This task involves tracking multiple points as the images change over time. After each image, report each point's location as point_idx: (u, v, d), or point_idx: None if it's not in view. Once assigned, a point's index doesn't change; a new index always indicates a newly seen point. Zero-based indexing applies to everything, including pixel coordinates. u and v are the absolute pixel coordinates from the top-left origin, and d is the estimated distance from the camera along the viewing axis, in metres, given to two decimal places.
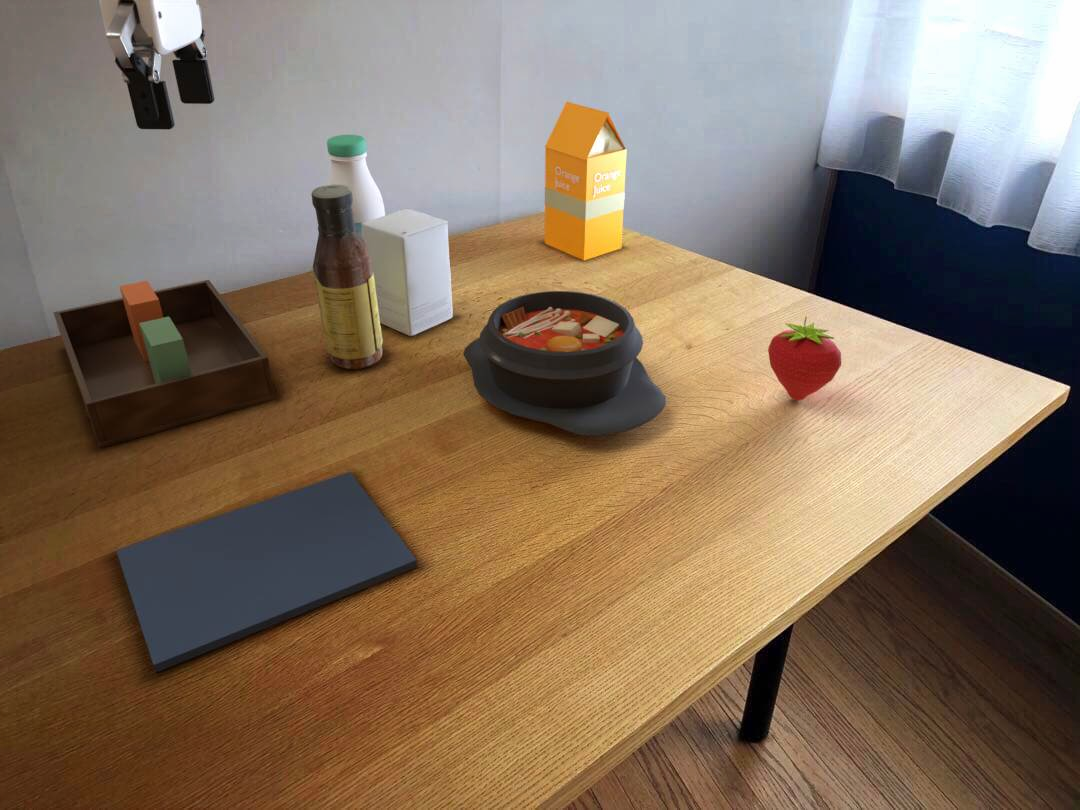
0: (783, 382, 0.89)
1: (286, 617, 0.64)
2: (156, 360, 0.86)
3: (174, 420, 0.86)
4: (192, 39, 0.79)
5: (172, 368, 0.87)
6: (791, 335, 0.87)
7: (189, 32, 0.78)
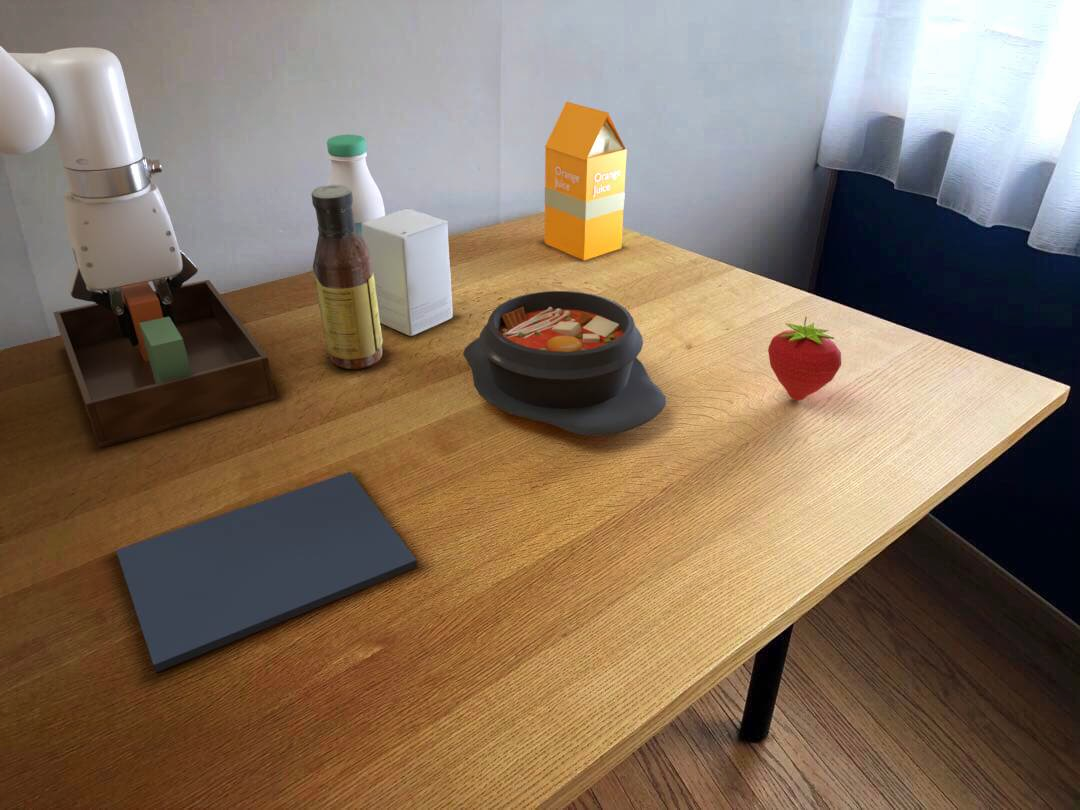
0: (783, 382, 0.89)
1: (286, 617, 0.64)
2: (156, 360, 0.86)
3: (174, 420, 0.86)
4: (154, 278, 0.94)
5: (172, 368, 0.87)
6: (791, 335, 0.87)
7: (147, 273, 0.93)
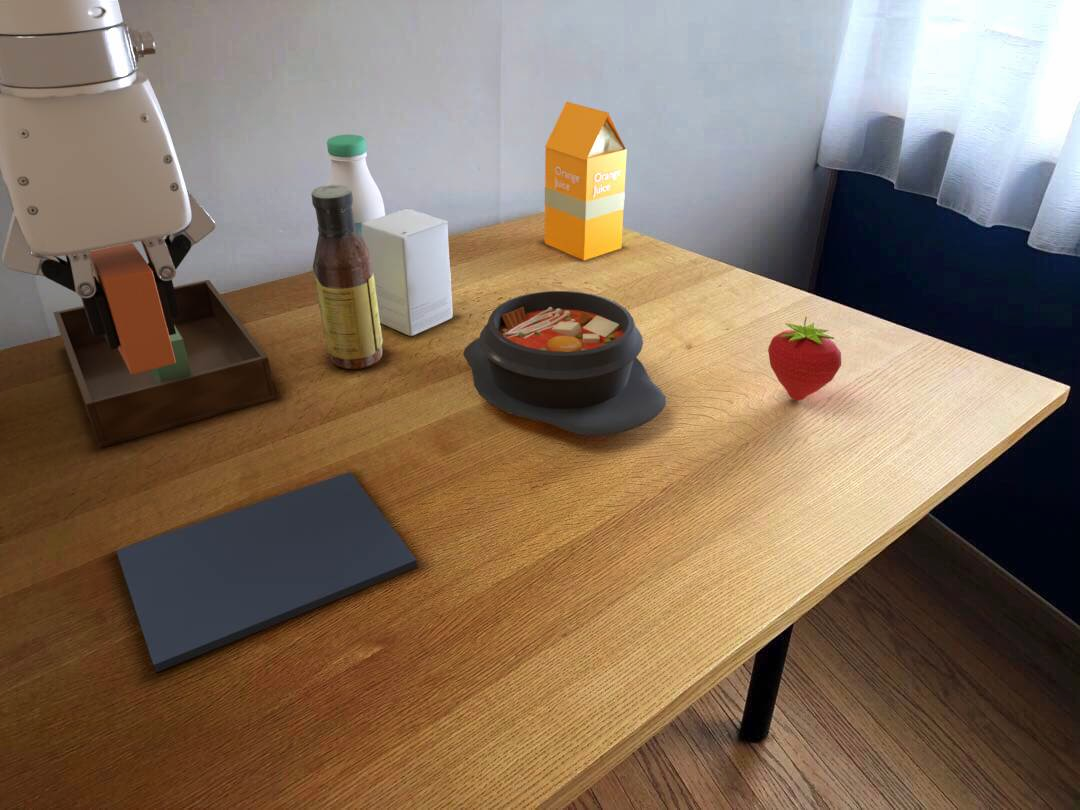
0: (783, 382, 0.89)
1: (286, 617, 0.64)
2: None
3: (174, 420, 0.86)
4: (145, 235, 0.56)
5: (172, 368, 0.87)
6: (791, 335, 0.87)
7: (133, 228, 0.56)
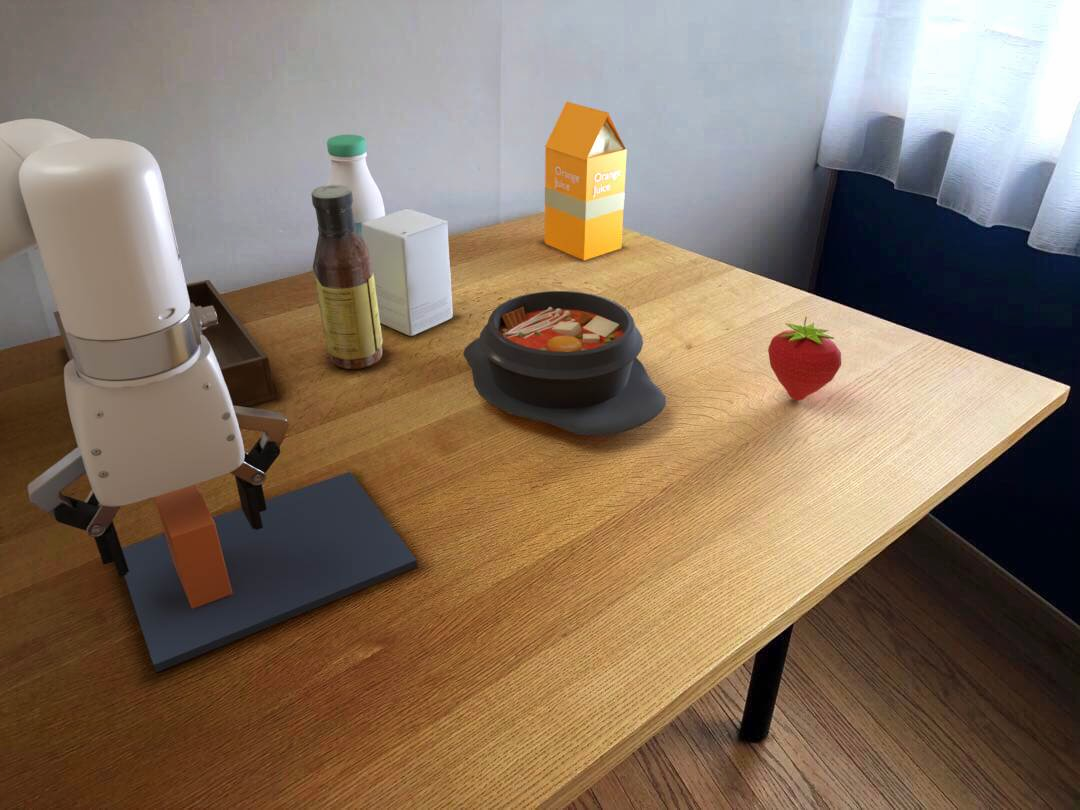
0: (783, 382, 0.89)
1: (286, 617, 0.64)
2: None
3: None
4: (203, 480, 0.61)
5: None
6: (791, 335, 0.87)
7: (192, 476, 0.60)
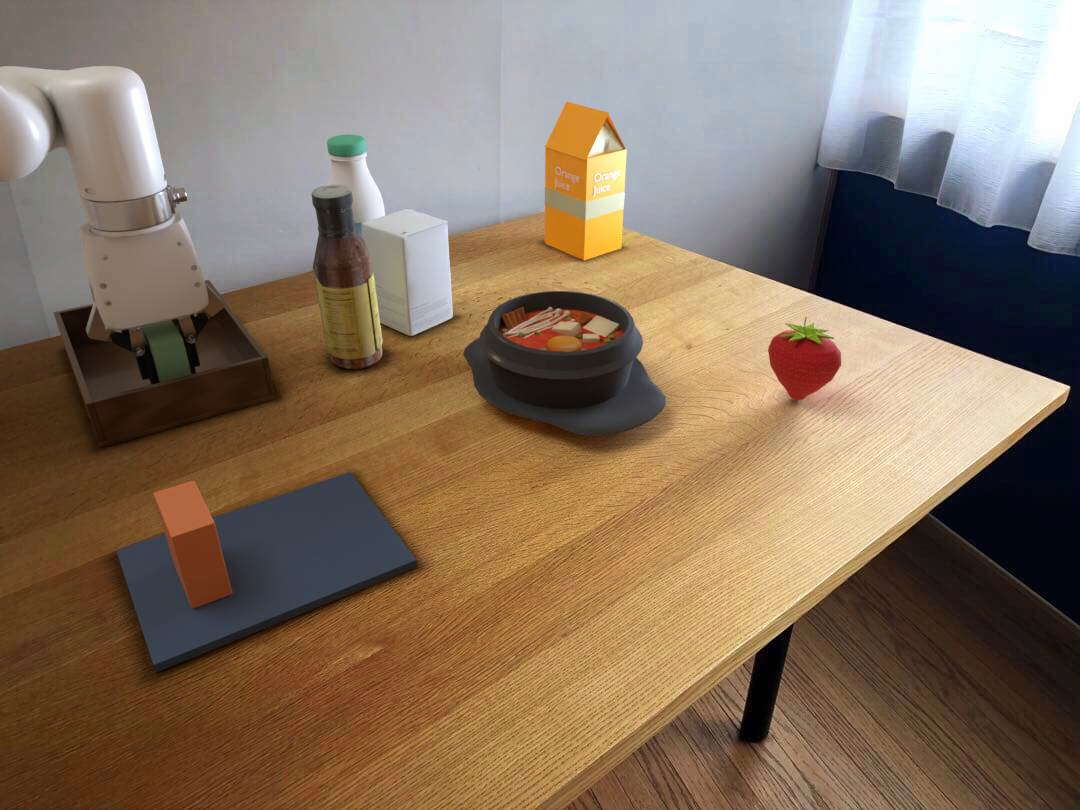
0: (783, 382, 0.89)
1: (286, 617, 0.64)
2: (156, 360, 0.86)
3: (174, 420, 0.86)
4: (178, 315, 0.86)
5: (172, 368, 0.87)
6: (791, 335, 0.87)
7: (170, 311, 0.85)
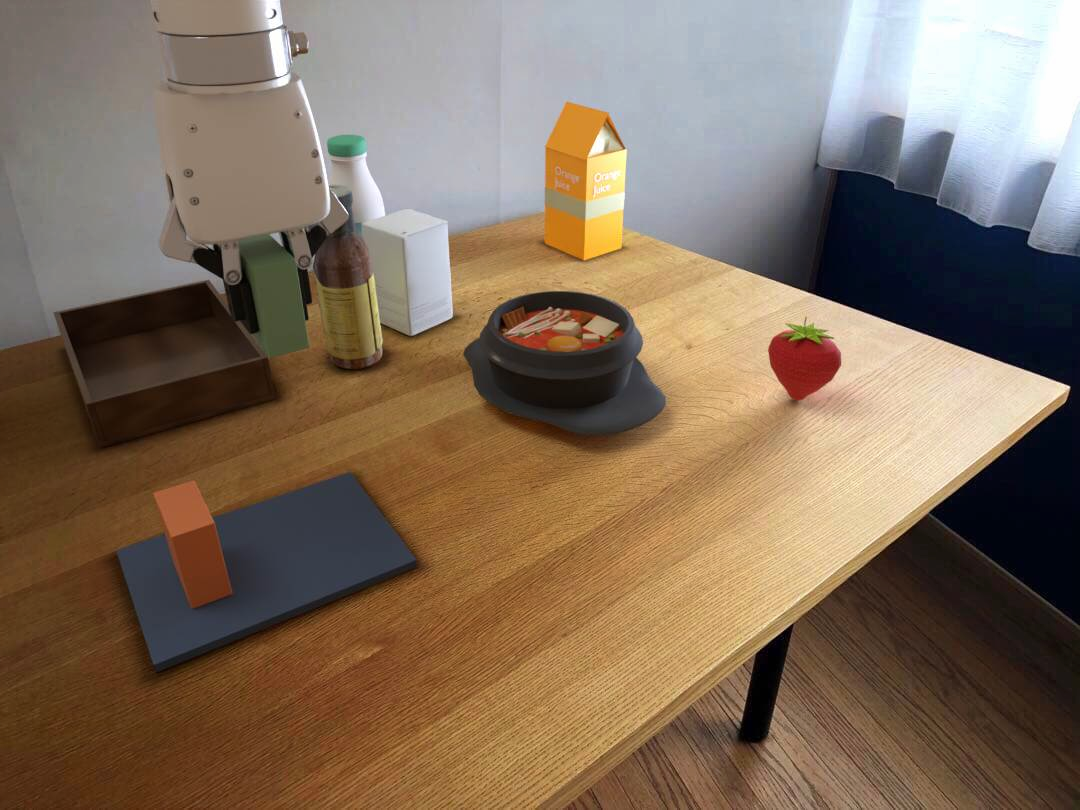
0: (783, 382, 0.89)
1: (286, 617, 0.64)
2: (258, 290, 0.59)
3: (174, 420, 0.86)
4: (290, 226, 0.59)
5: (279, 303, 0.60)
6: (791, 335, 0.87)
7: (280, 218, 0.59)
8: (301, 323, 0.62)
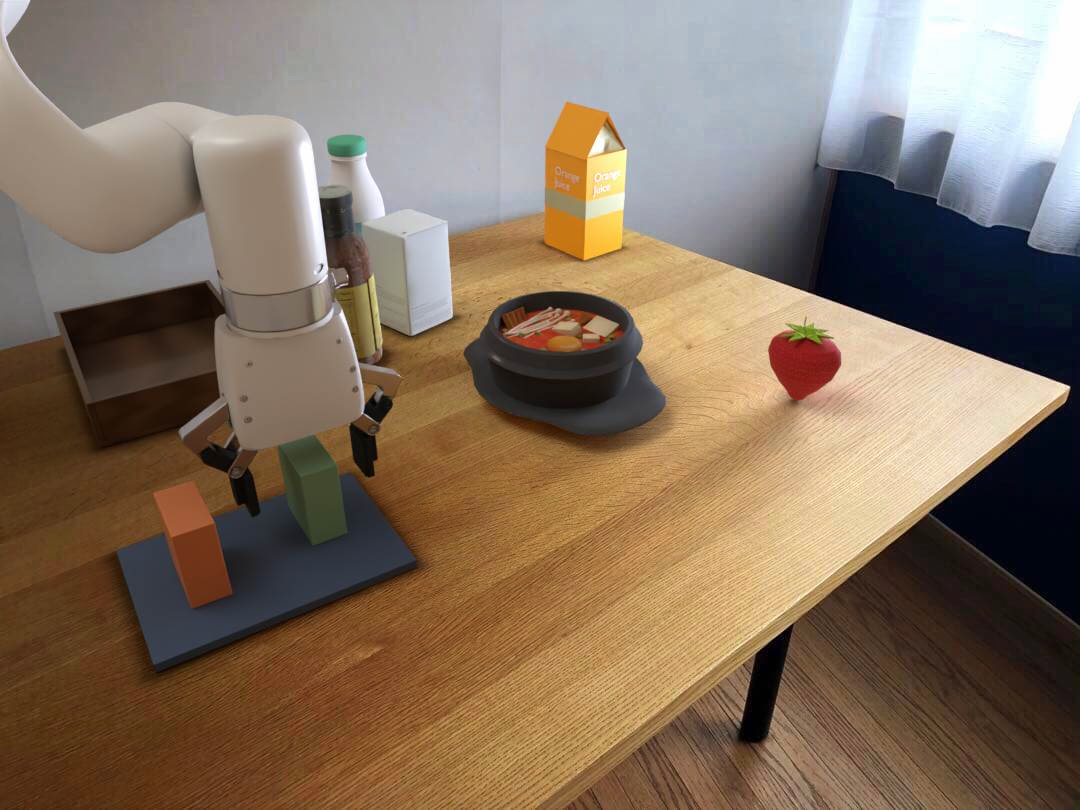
0: (783, 382, 0.89)
1: (286, 617, 0.64)
2: (304, 493, 0.67)
3: (174, 420, 0.86)
4: (329, 428, 0.67)
5: (322, 501, 0.68)
6: (791, 335, 0.87)
7: (321, 424, 0.66)
8: (341, 514, 0.70)
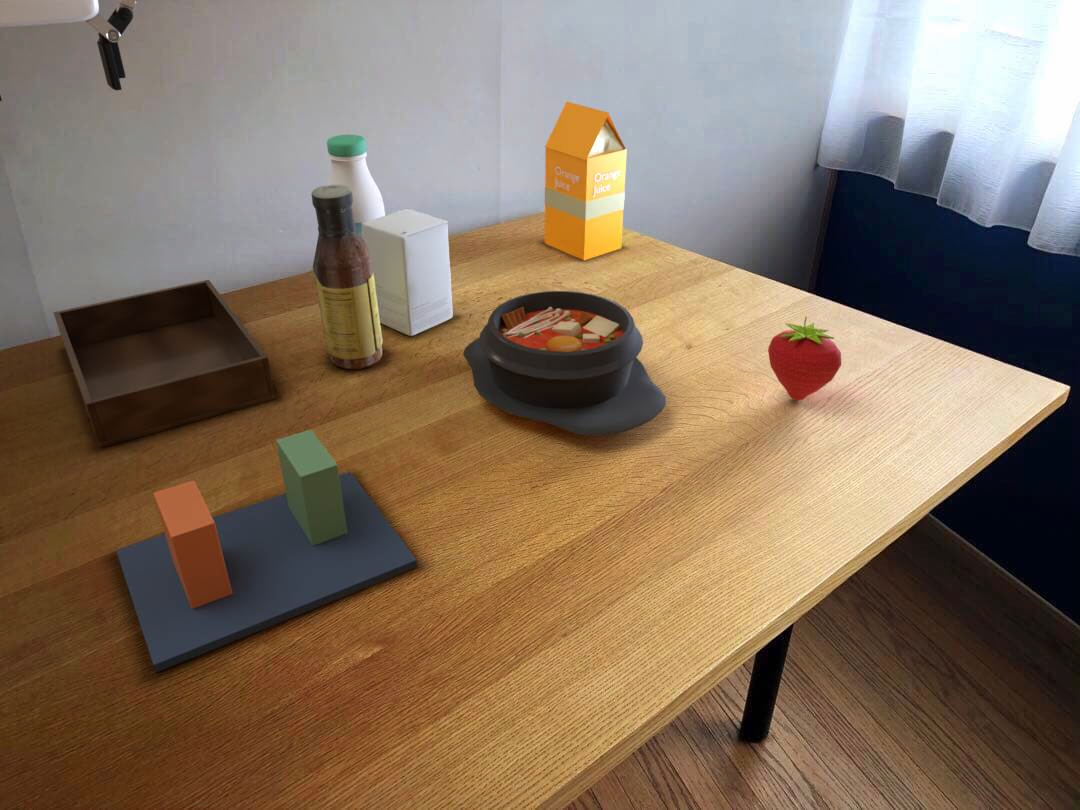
0: (783, 382, 0.89)
1: (286, 617, 0.64)
2: (304, 493, 0.67)
3: (174, 420, 0.86)
4: (61, 17, 0.73)
5: (322, 501, 0.68)
6: (791, 335, 0.87)
7: (51, 9, 0.72)
8: (341, 514, 0.70)
